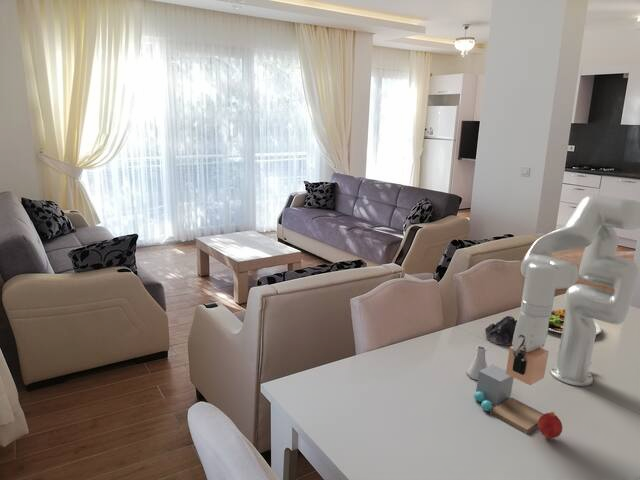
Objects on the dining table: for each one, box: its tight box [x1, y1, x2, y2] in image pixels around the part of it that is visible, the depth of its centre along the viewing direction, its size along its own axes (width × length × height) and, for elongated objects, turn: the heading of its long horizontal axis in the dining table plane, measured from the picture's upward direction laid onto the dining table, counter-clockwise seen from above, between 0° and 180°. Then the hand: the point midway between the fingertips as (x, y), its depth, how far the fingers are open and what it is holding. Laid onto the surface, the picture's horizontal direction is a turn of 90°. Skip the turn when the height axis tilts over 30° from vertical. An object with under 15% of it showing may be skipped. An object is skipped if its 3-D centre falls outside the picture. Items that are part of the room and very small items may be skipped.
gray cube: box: [475, 364, 515, 407], centre depth 143 cm, size 7×7×8 cm
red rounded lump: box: [537, 411, 563, 440], centre depth 125 cm, size 6×6×8 cm
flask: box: [466, 345, 488, 381], centre depth 154 cm, size 7×7×10 cm
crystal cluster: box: [484, 315, 518, 346], centre depth 183 cm, size 13×14×10 cm
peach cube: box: [505, 345, 549, 386], centre depth 130 cm, size 7×7×8 cm
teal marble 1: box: [473, 391, 485, 403], centre depth 141 cm, size 3×3×3 cm
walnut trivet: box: [489, 397, 545, 435], centre depth 134 cm, size 11×11×1 cm
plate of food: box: [548, 308, 602, 335], centre depth 198 cm, size 28×28×6 cm
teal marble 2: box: [480, 400, 493, 412], centre depth 136 cm, size 3×3×3 cm
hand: (526, 368), depth 131 cm, fingers closed on peach cube, 7 cm apart
